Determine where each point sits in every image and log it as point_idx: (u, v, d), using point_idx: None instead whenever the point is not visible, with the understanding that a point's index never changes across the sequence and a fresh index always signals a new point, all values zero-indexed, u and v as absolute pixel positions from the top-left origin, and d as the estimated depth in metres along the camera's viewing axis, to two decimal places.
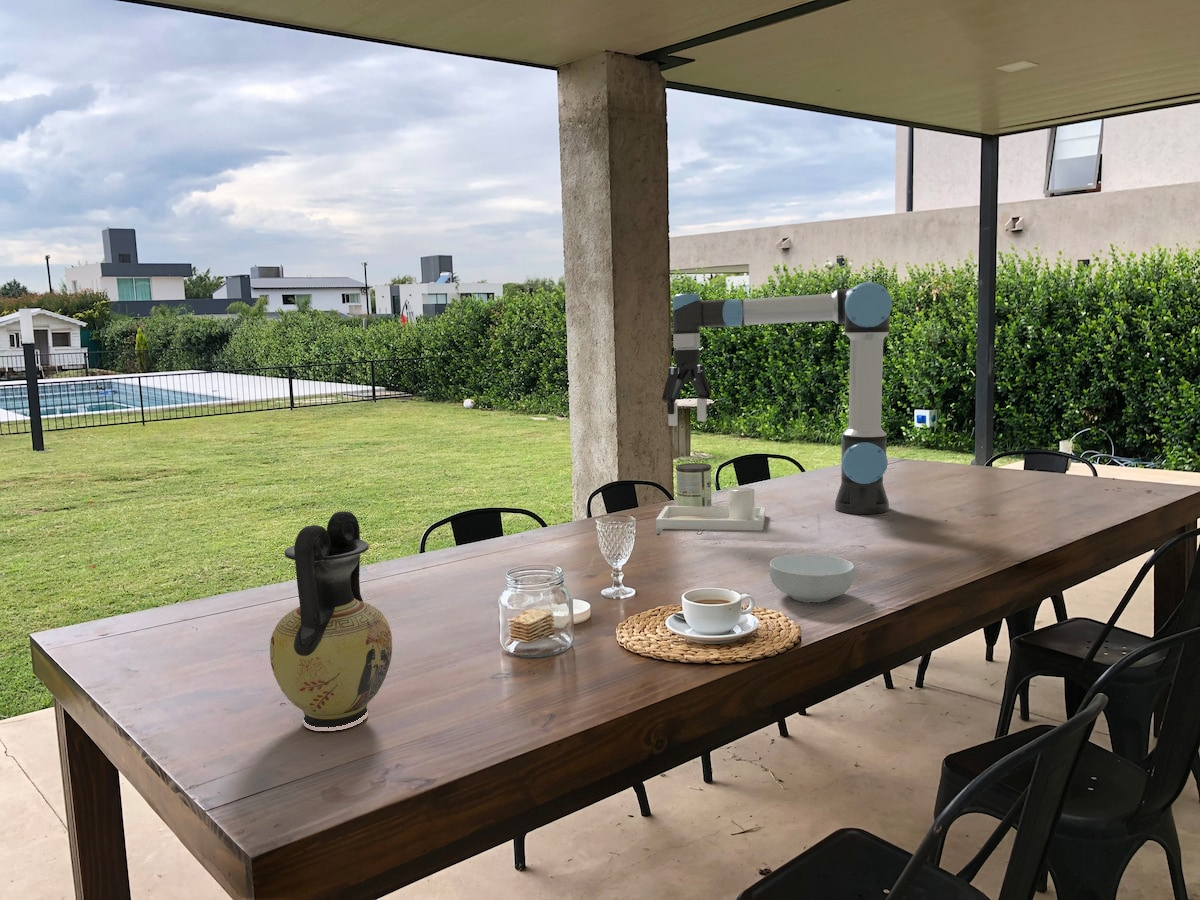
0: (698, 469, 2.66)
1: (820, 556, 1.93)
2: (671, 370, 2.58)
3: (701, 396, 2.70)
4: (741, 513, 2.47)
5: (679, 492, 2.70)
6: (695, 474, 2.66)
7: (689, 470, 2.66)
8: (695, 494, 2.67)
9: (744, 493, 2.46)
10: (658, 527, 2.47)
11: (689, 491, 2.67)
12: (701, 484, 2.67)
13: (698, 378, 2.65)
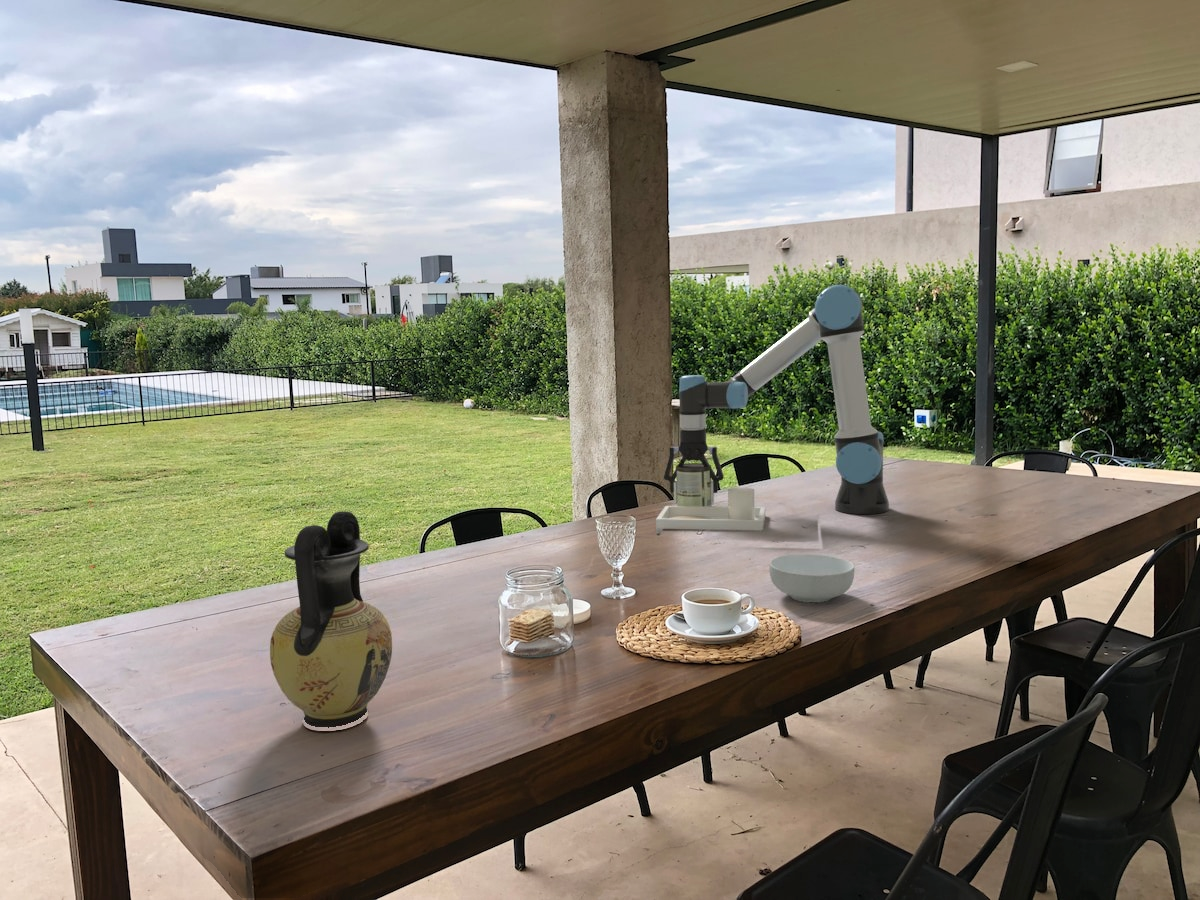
0: (698, 469, 2.66)
1: (820, 556, 1.93)
2: None
3: None
4: (741, 513, 2.47)
5: (679, 492, 2.70)
6: (695, 474, 2.66)
7: (689, 470, 2.66)
8: (695, 494, 2.67)
9: (744, 493, 2.46)
10: (658, 527, 2.47)
11: (689, 491, 2.67)
12: (701, 483, 2.67)
13: (702, 459, 2.68)
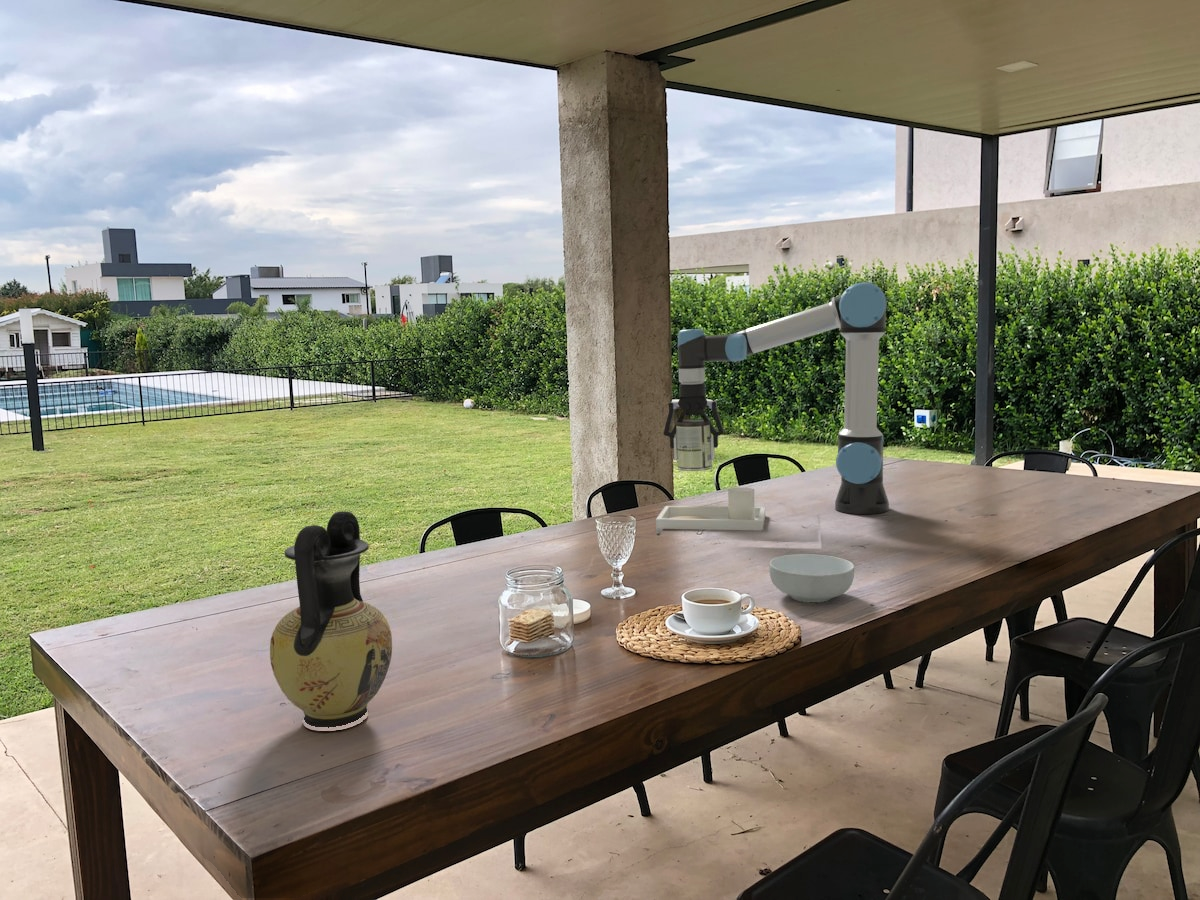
0: (698, 423, 2.64)
1: (820, 556, 1.93)
2: None
3: None
4: (741, 513, 2.47)
5: (679, 447, 2.68)
6: (695, 428, 2.64)
7: (689, 424, 2.64)
8: (695, 449, 2.65)
9: (744, 493, 2.46)
10: (658, 527, 2.47)
11: (690, 445, 2.65)
12: (701, 438, 2.65)
13: (701, 413, 2.66)
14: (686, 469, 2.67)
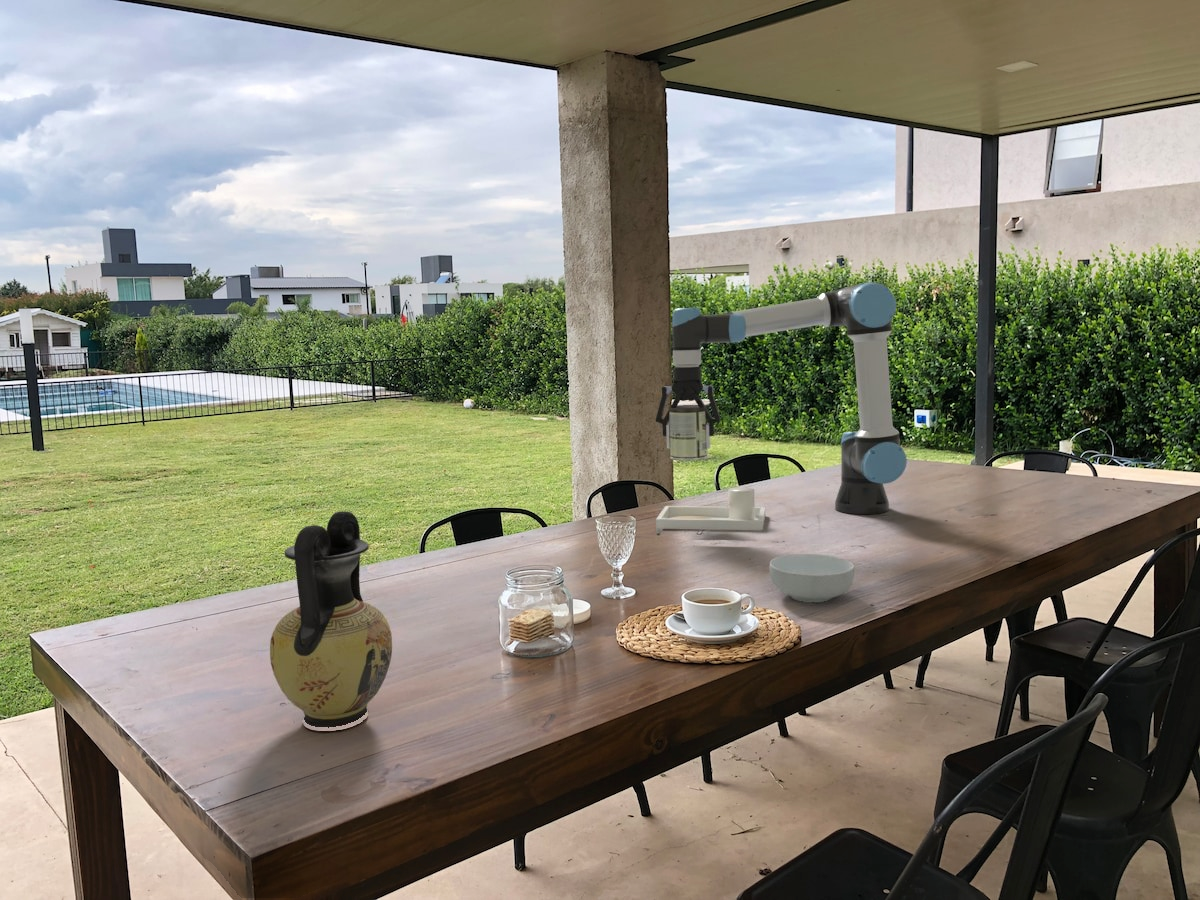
0: (692, 409, 2.45)
1: (820, 556, 1.93)
2: None
3: None
4: (741, 513, 2.47)
5: (672, 435, 2.49)
6: (690, 415, 2.45)
7: (683, 410, 2.45)
8: (689, 437, 2.46)
9: (744, 493, 2.46)
10: (658, 527, 2.47)
11: (683, 433, 2.46)
12: (695, 425, 2.46)
13: (697, 399, 2.47)
14: (679, 458, 2.48)
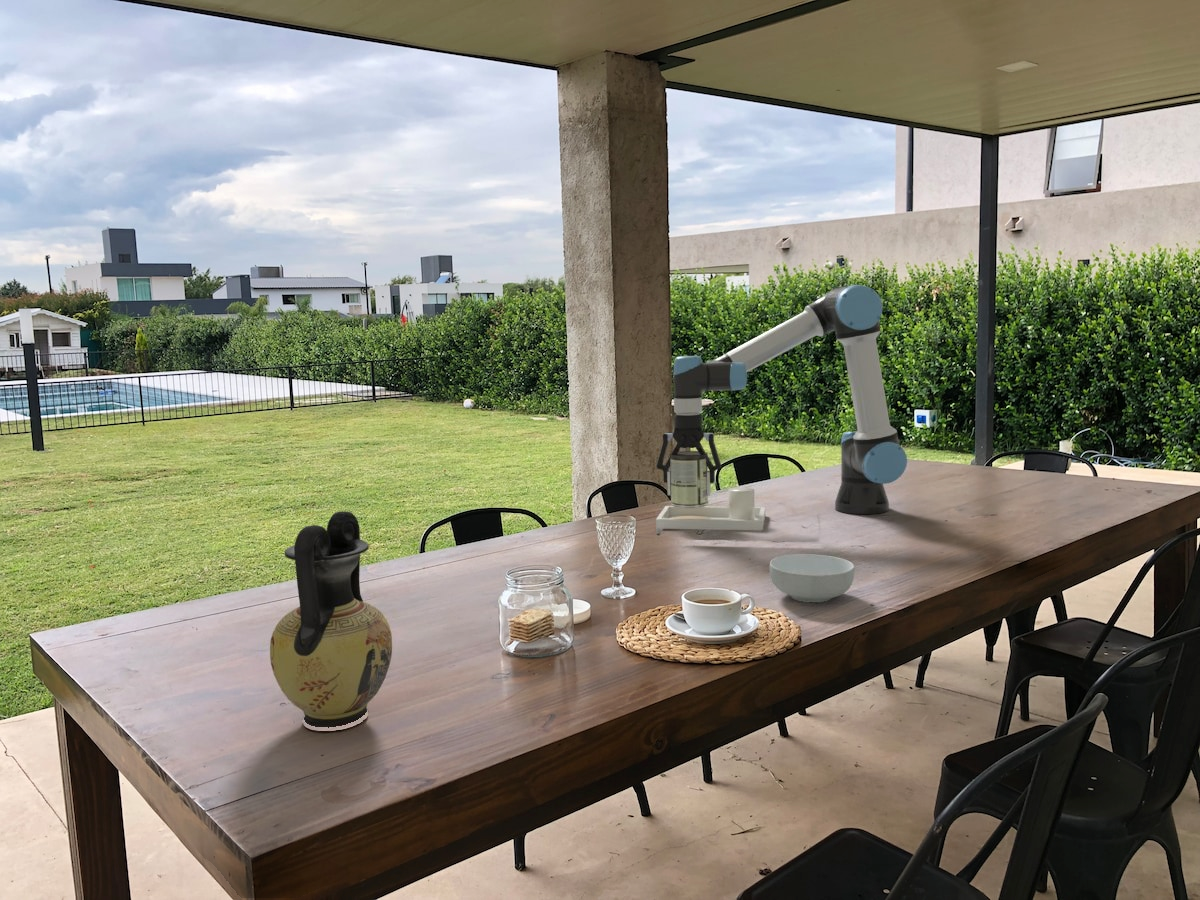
0: (693, 457, 2.46)
1: (820, 556, 1.93)
2: None
3: None
4: (741, 513, 2.47)
5: (673, 482, 2.50)
6: (691, 463, 2.46)
7: (684, 458, 2.47)
8: (690, 484, 2.47)
9: (744, 493, 2.46)
10: (658, 527, 2.47)
11: (684, 480, 2.47)
12: (696, 473, 2.47)
13: (698, 446, 2.49)
14: (680, 505, 2.49)
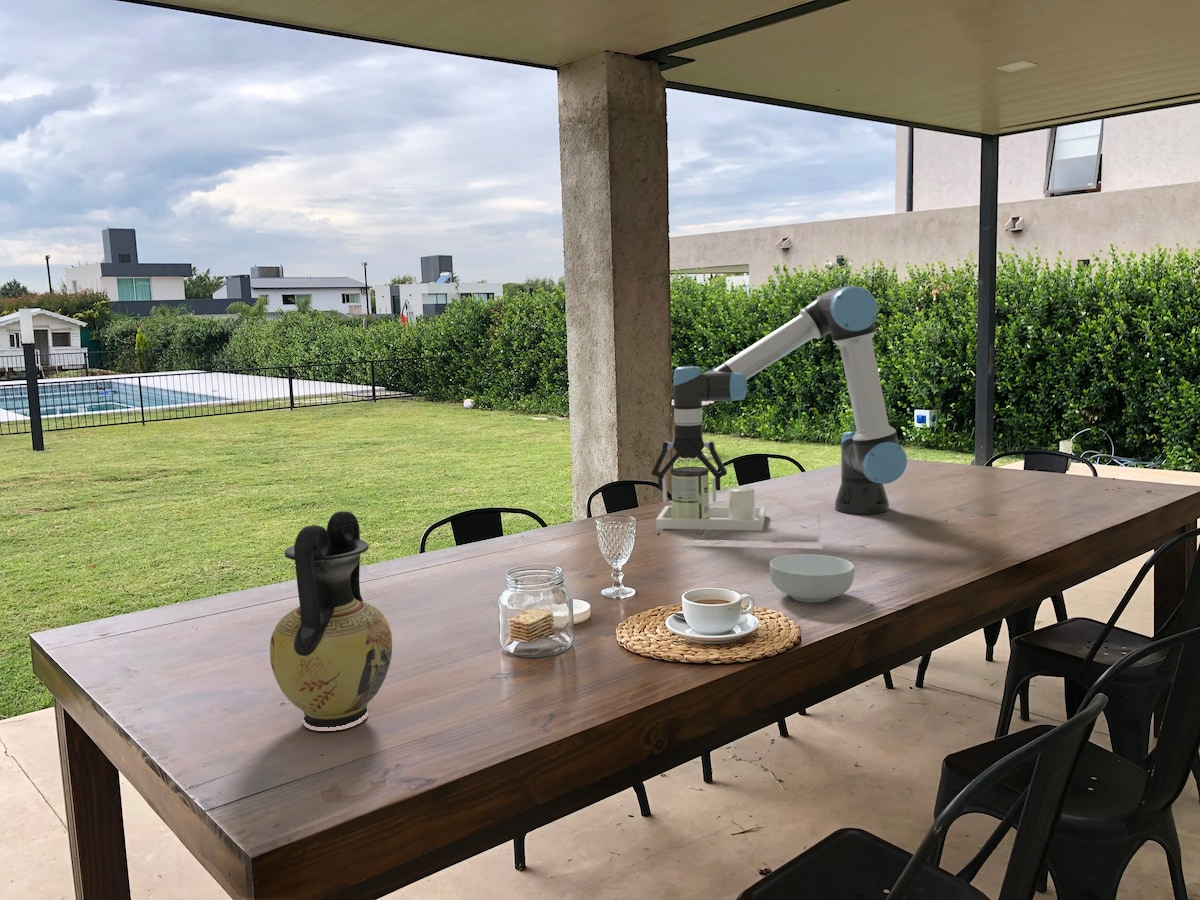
0: (695, 473, 2.47)
1: (820, 556, 1.93)
2: None
3: None
4: (741, 513, 2.47)
5: (674, 498, 2.51)
6: (692, 479, 2.47)
7: (685, 474, 2.47)
8: (691, 500, 2.48)
9: (744, 493, 2.46)
10: (658, 527, 2.47)
11: (685, 496, 2.48)
12: (697, 489, 2.48)
13: (699, 456, 2.49)
14: None
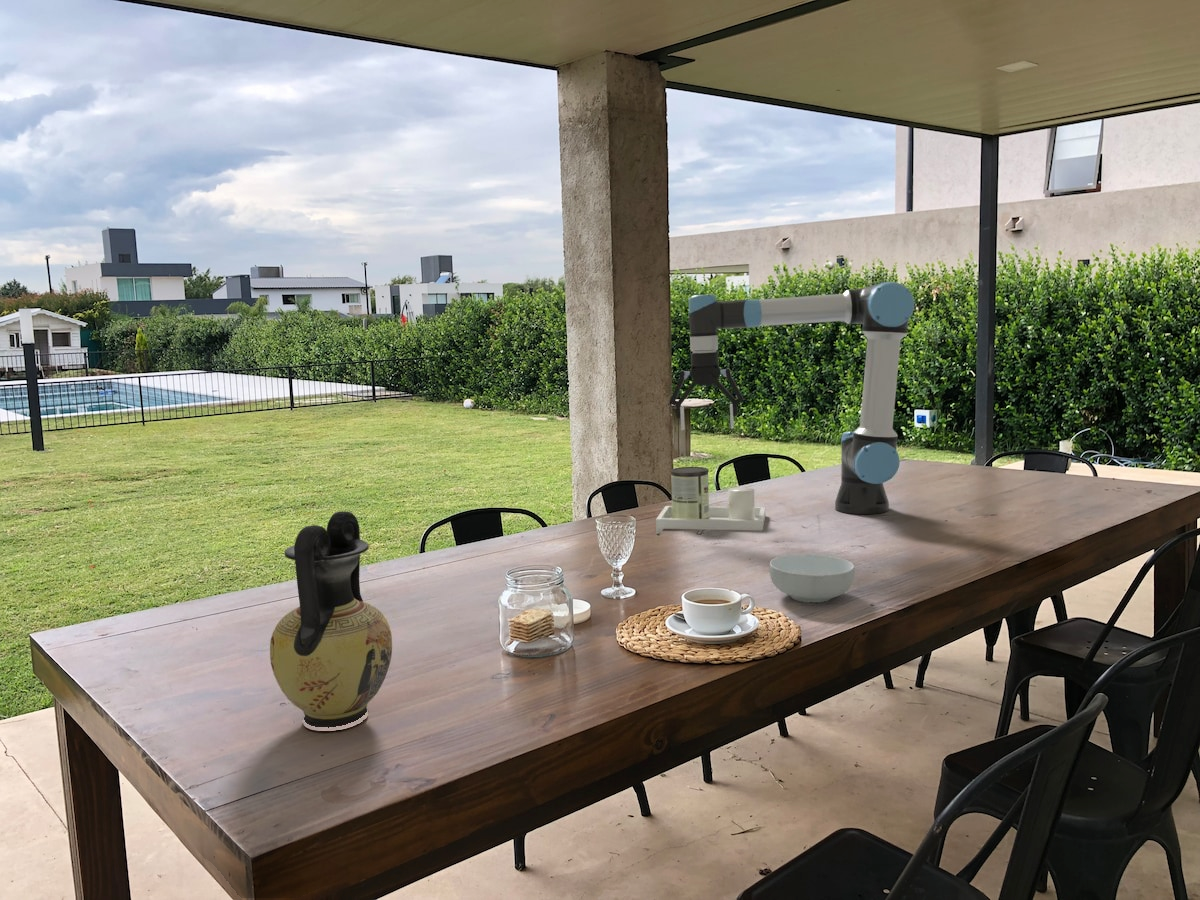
0: (694, 473, 2.47)
1: (820, 556, 1.93)
2: None
3: None
4: (741, 513, 2.47)
5: (674, 498, 2.51)
6: (692, 479, 2.47)
7: (685, 474, 2.47)
8: (691, 500, 2.48)
9: (744, 493, 2.46)
10: (658, 527, 2.47)
11: (685, 497, 2.48)
12: (697, 489, 2.48)
13: (716, 383, 2.52)
14: None
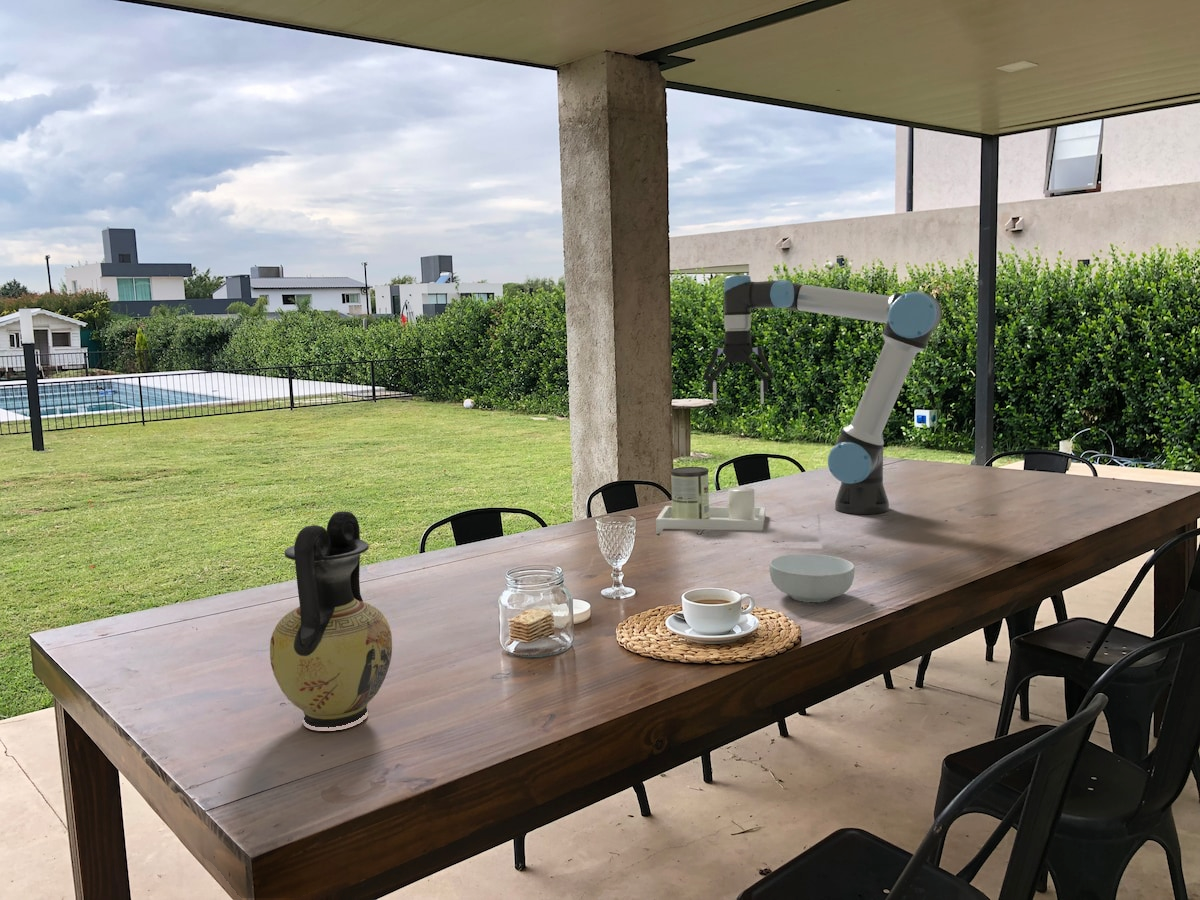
0: (694, 473, 2.47)
1: (820, 556, 1.93)
2: None
3: None
4: (741, 513, 2.47)
5: (674, 498, 2.51)
6: (692, 479, 2.47)
7: (685, 474, 2.47)
8: (691, 500, 2.48)
9: (744, 493, 2.46)
10: (658, 527, 2.47)
11: (685, 497, 2.48)
12: (697, 489, 2.48)
13: (748, 360, 2.64)
14: None
